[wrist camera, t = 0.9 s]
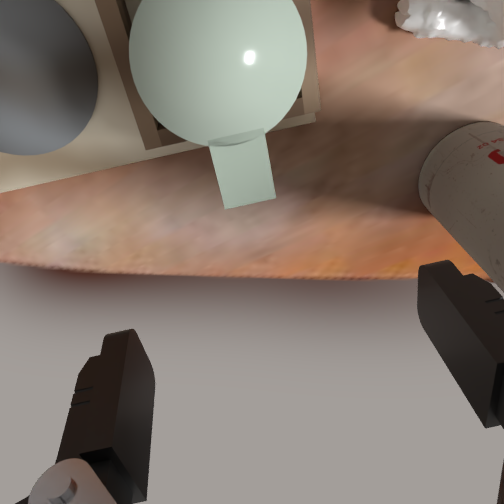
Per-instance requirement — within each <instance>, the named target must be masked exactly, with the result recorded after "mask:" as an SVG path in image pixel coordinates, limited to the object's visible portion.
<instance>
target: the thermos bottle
mask: <svg viewBox="0 0 504 504" xmlns="http://www.w3.org/2000/svg"><path fill="white" fill-rule="evenodd" d="M418 189H419V194H420V198H421V200H422V202H423V204H424V205H425V207H426V208H427V209H428V210H429V211H430V212H431V214H432V215H433V216H434V217H435V218H436V219H437V220H438V221H439V222H440V223H441V224H442V226H443V227H444V228H445V229H446V230H447V231H448V232H449V233H450V234H451V235H452V237H453V238H454V239H455V240H456V241H457V242H458V243H459V244H460V245H461V246H462V247H463V249H464V250H465V251H466V252H467V253H468V254H469V255H470V256H471V257H472V258H473V259H474V260H475V261H476V262H477V264H478V265H479V266H480V267H481V268H482V269H483V270H484V271H485V272H486V273H487V274H488V276H489V277H490V278H491V279H492V280H493V281H494V282H495V283H496V284H497V286H498V287H499V288H500V289H501V290H502V291H503V292H504V126H503V125H501V124H497V123H493V122H478V123H474V124H469V125H466V126H464V127H461V128H459V129H457V130H455V131H454V132H452V133H450V134H449V135H447V136H446V137H445V138H444V139H442V140H441V141H440V142H439V143H438V144H437V145H436V146H435V147H434V149H433V150H432V151H431V152H430V154H429V155H428V157H427V158H426V160H425V162H424V164H423V166H422V169H421V172H420V176H419V186H418Z"/></svg>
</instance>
